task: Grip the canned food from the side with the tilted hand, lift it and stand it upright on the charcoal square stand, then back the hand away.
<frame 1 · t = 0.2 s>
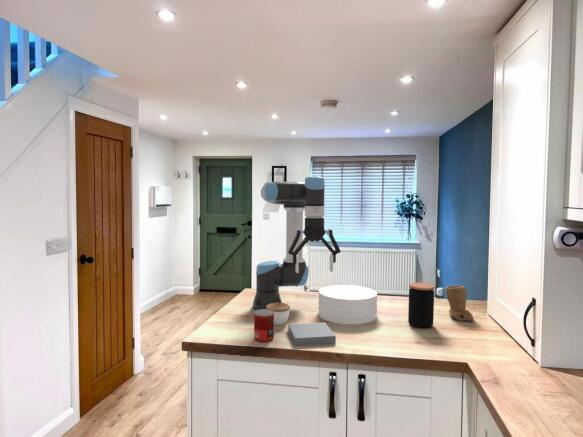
hand: (314, 271, 143), 28 cm above the worktop, tool pointing down, fingers open, 13 cm apart
plate stack: (347, 315, 179), on the worktop
lidded jar: (277, 323, 167), on the worktop
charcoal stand: (310, 337, 150), on the worktop
brown boot: (458, 317, 178), on the worktop
coffee jar: (420, 325, 166), on the worktop
canned food: (264, 339, 148), on the worktop
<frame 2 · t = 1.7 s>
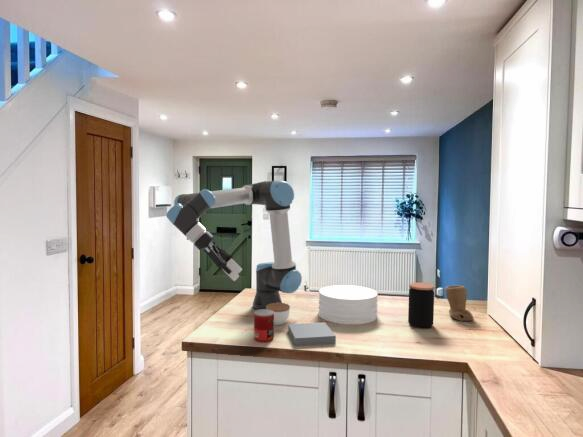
hand: (238, 275, 146), 26 cm above the worktop, tool tilted 45°, fingers open, 13 cm apart
nothing on the worktop moved.
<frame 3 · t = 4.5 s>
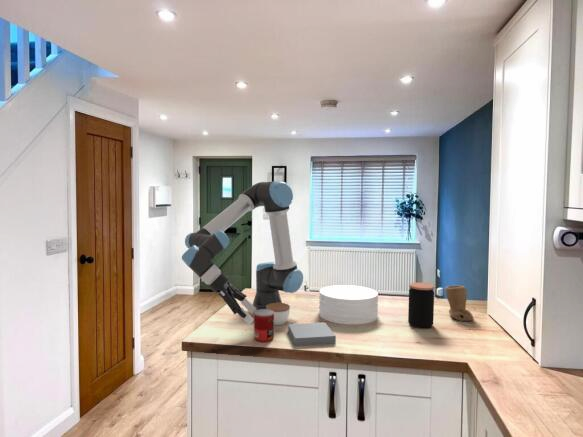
hand: (253, 316, 146), 9 cm above the worktop, tool tilted 45°, fingers open, 13 cm apart
nothing on the worktop moved.
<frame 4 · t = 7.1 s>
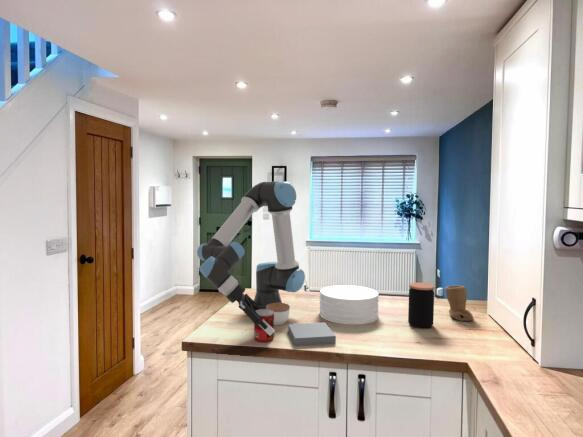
hand: (272, 329, 147), 4 cm above the worktop, tool tilted 45°, fingers closed on canned food, 8 cm apart
canned food: (264, 339, 148), on the worktop, touching gripper
everything else where it was.
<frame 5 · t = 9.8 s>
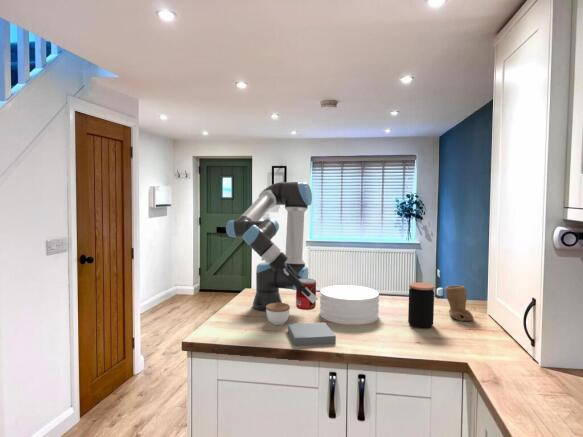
hand: (314, 297, 148), 16 cm above the worktop, tool tilted 45°, fingers closed on canned food, 8 cm apart
canned food: (305, 307, 148), point 12 cm above the worktop, touching gripper
everything else where it was.
when the fingers open (8 cm above the worktop, at t = 12.4 s): canned food drops 1 cm, resting on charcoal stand.
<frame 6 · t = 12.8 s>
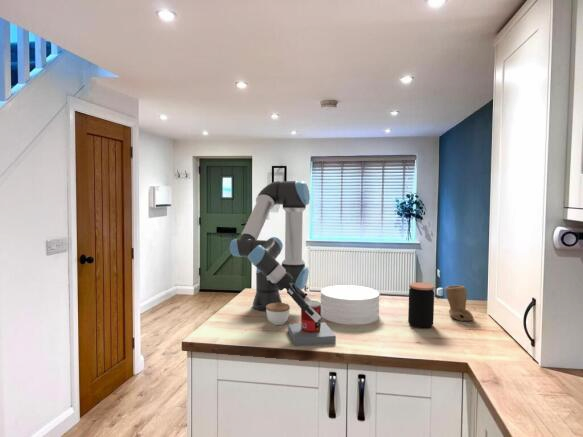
hand: (317, 314, 149), 9 cm above the worktop, tool tilted 45°, fingers open, 13 cm apart
canned food: (310, 330, 150), point 3 cm above the worktop, touching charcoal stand
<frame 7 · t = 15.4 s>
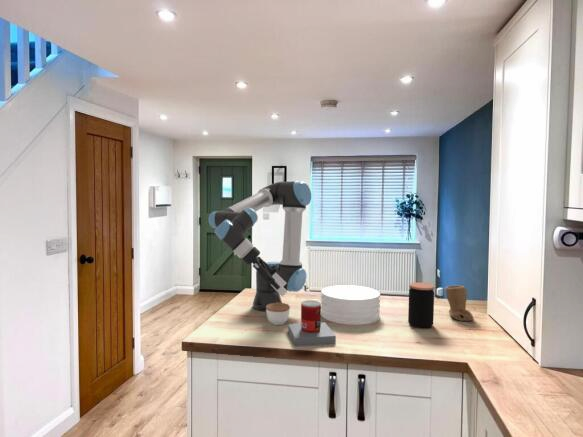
hand: (284, 289, 149), 19 cm above the worktop, tool tilted 45°, fingers open, 13 cm apart
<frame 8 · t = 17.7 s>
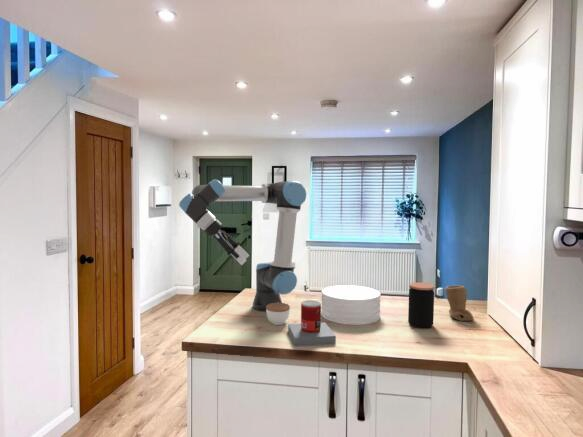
hand: (245, 260, 157), 30 cm above the worktop, tool tilted 45°, fingers open, 13 cm apart
at the end: canned food inside the target area on the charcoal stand (0.2 cm from its centre), point 2.8 cm above the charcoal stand's base; canned food tilted 0°; the gripper is holding nothing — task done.
